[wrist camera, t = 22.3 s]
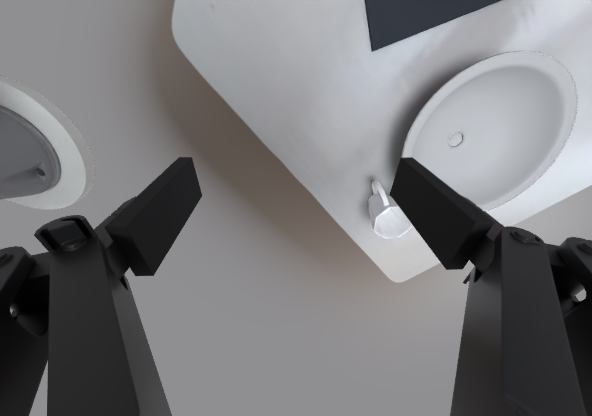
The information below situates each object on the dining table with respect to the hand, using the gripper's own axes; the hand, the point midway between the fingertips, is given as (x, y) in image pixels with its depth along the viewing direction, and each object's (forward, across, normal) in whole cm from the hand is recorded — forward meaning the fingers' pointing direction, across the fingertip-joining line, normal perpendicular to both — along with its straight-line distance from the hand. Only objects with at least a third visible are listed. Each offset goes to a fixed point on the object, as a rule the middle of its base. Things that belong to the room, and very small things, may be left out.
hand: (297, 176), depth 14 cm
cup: (+24, +17, -16) cm, 34 cm away
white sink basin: (+25, +29, -5) cm, 38 cm away
